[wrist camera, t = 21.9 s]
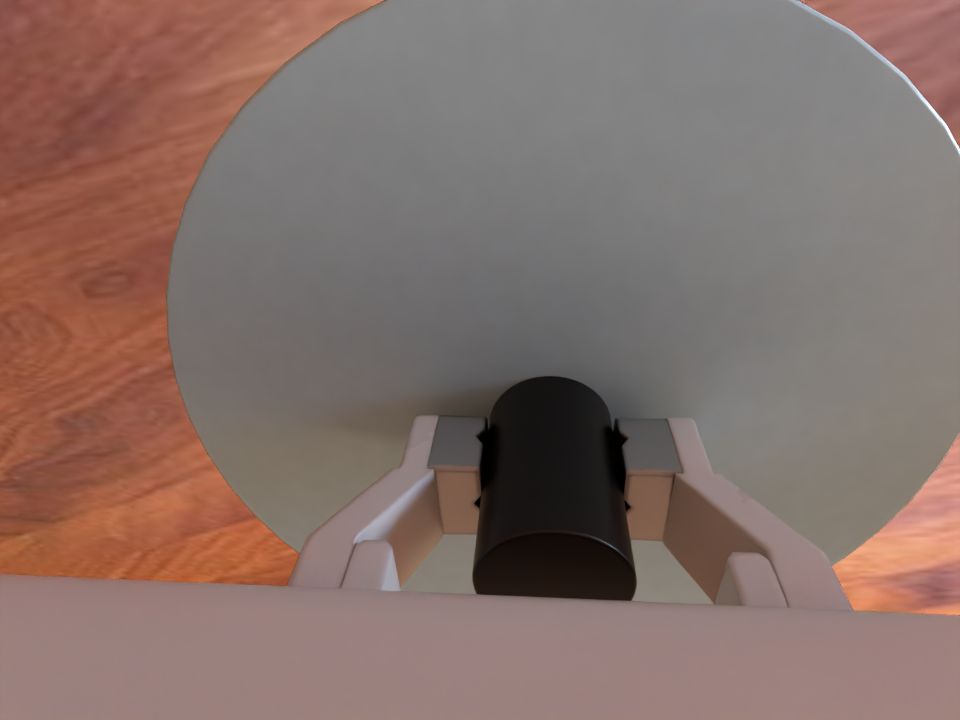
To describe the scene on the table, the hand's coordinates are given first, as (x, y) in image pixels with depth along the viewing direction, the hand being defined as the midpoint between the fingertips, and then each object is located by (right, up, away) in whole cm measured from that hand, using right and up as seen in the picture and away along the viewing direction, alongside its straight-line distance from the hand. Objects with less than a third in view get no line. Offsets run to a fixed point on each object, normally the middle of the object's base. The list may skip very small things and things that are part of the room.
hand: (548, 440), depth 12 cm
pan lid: (0, +1, +1) cm, 1 cm away
